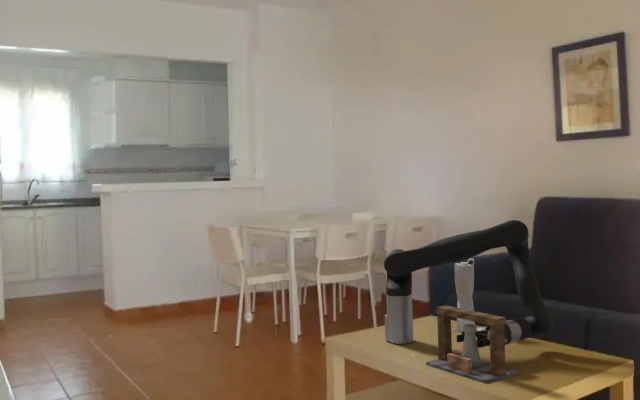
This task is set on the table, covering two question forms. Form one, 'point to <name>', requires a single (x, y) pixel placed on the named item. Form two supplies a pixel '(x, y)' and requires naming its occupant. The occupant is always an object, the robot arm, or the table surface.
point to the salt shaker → (470, 345)
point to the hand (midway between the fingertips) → (467, 341)
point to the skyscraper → (464, 290)
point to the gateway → (463, 364)
